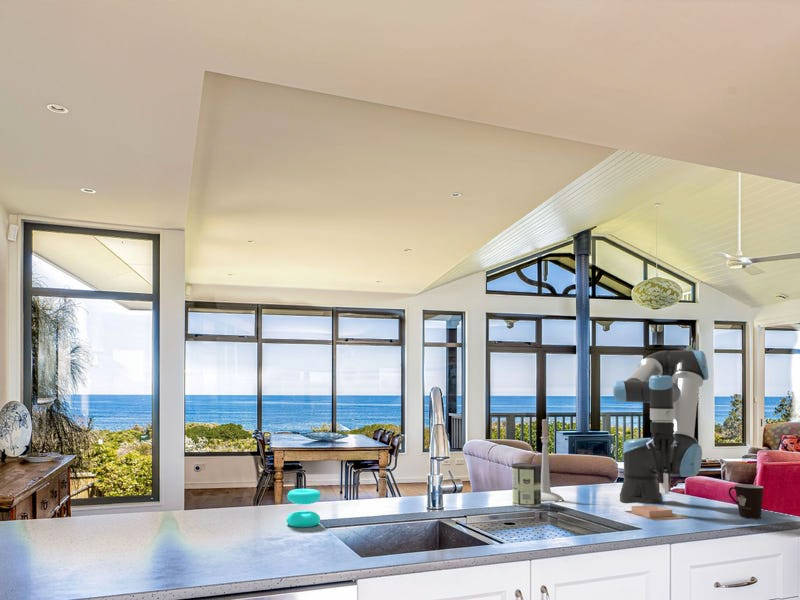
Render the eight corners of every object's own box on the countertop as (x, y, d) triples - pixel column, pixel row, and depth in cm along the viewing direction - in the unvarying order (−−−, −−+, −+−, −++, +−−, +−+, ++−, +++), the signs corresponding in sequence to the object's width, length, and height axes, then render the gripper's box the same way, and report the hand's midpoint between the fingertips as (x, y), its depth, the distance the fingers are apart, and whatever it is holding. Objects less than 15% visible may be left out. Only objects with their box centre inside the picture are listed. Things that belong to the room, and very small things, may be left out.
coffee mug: (769, 519, 225) (768, 488, 226) (743, 519, 225) (741, 487, 226) (752, 512, 236) (751, 483, 237) (727, 512, 236) (725, 482, 238)
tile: (654, 511, 232) (631, 512, 230) (653, 505, 233) (631, 506, 230) (672, 516, 224) (649, 517, 221) (672, 509, 224) (649, 511, 221)
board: (623, 513, 231) (623, 511, 232) (658, 511, 236) (658, 509, 236) (655, 523, 216) (655, 520, 216) (691, 520, 221) (691, 518, 221)
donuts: (318, 487, 213) (322, 492, 204) (317, 520, 212) (322, 527, 203) (286, 488, 211) (288, 493, 201) (285, 522, 210) (287, 528, 200)
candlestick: (561, 497, 264) (560, 417, 267) (565, 502, 251) (563, 419, 255) (527, 495, 265) (526, 417, 269) (529, 501, 253) (528, 418, 256)
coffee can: (532, 501, 252) (532, 462, 254) (546, 506, 242) (546, 466, 244) (507, 502, 249) (506, 463, 251) (519, 508, 239) (519, 466, 241)
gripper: (653, 422, 226) (655, 495, 224) (685, 422, 230) (688, 494, 228) (638, 420, 233) (640, 492, 231) (670, 420, 238) (672, 490, 235)
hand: (664, 493), depth 229 cm, fingers closed
